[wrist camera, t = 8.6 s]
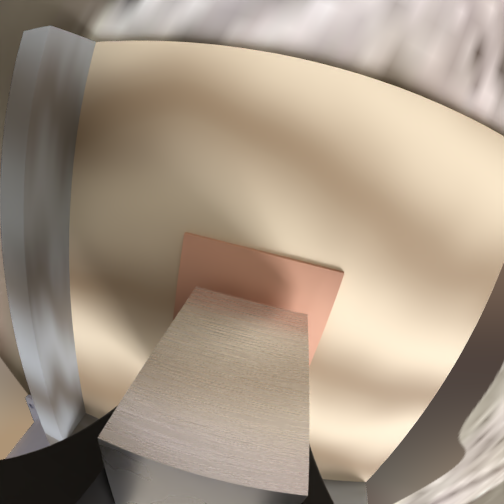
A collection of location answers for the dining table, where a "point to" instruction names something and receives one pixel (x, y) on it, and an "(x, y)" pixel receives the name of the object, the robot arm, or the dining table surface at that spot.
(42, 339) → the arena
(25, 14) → the dining table surface
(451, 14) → the dining table surface
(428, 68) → the dining table surface
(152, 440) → the aluminium block
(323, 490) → the robot arm
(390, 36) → the dining table surface
